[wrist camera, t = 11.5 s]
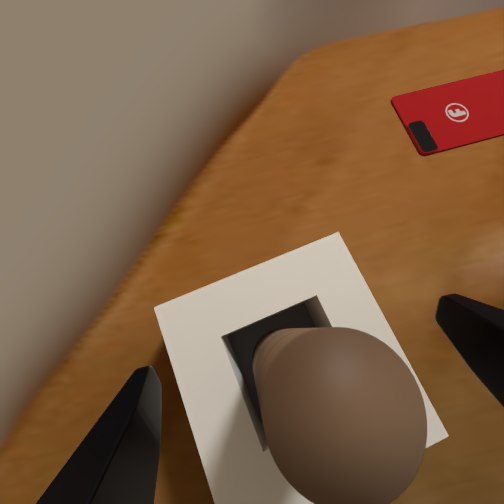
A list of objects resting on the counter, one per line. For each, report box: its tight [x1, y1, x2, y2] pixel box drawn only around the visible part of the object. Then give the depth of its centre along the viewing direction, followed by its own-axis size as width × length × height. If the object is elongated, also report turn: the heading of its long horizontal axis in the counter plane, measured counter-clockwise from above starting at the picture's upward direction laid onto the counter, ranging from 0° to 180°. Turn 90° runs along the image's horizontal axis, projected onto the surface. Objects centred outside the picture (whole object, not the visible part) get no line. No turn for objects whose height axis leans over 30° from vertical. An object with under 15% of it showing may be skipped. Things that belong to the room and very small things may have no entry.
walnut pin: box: [252, 327, 427, 504], centre depth 11 cm, size 4×4×10 cm
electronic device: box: [391, 70, 504, 156], centre depth 22 cm, size 6×1×15 cm
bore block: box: [154, 232, 449, 504], centre depth 14 cm, size 10×10×4 cm
